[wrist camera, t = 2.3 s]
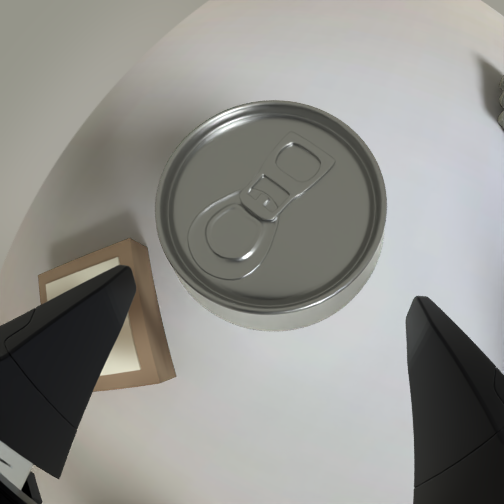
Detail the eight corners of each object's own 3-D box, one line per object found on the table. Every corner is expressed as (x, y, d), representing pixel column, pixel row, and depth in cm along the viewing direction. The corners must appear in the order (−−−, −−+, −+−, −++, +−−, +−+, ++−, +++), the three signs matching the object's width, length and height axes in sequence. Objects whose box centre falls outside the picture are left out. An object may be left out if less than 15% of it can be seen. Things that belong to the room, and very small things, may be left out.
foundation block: (176, 376, 18) (159, 383, 15) (78, 389, 18) (56, 394, 16) (147, 247, 20) (128, 237, 17) (58, 280, 21) (36, 274, 18)
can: (212, 278, 19) (98, 212, 7) (279, 204, 19) (255, 61, 8) (289, 347, 17) (280, 397, 6) (357, 267, 18) (445, 180, 6)
